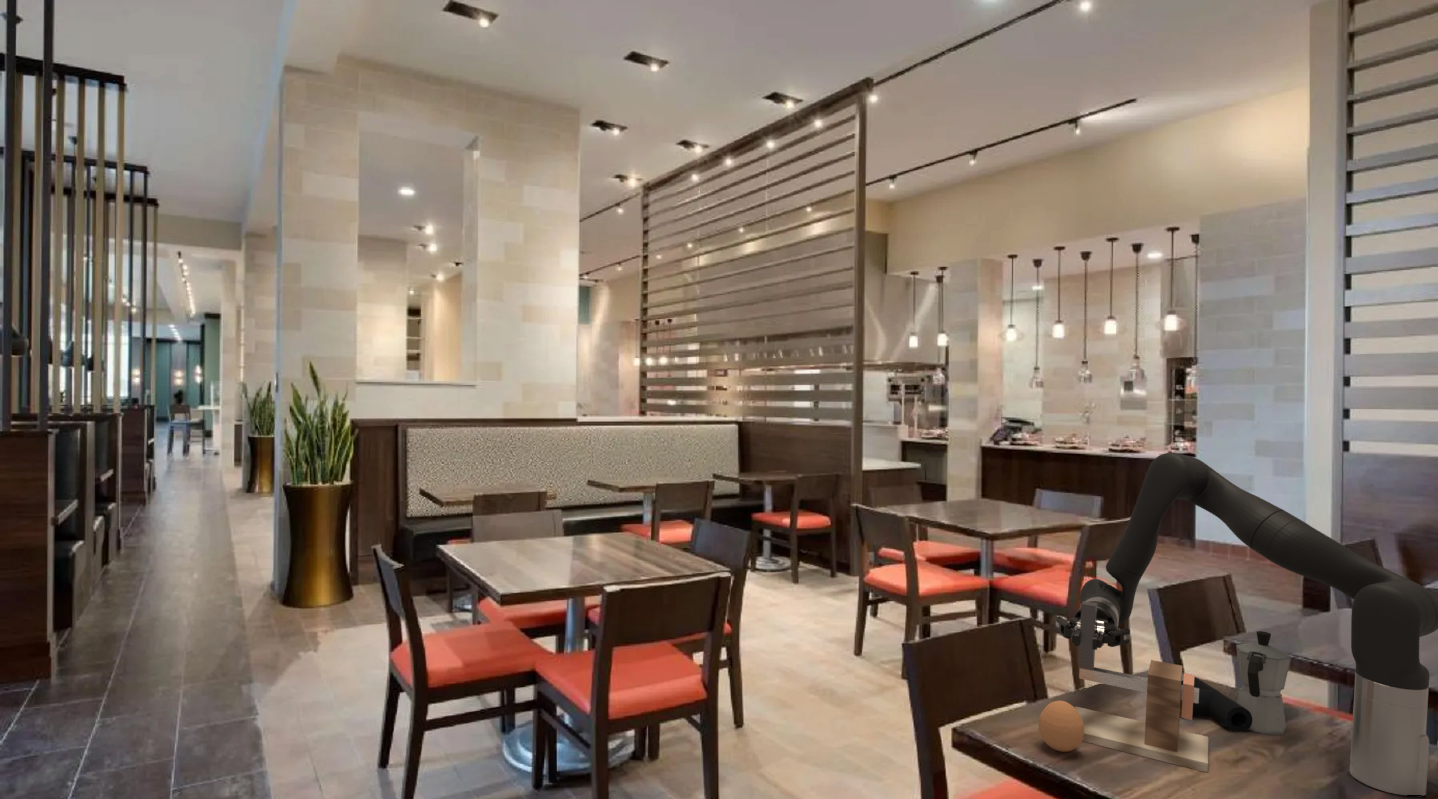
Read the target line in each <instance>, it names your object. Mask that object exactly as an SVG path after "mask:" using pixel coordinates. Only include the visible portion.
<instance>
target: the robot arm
mask: <svg viewBox="0 0 1438 799" xmlns="http://www.w3.org/2000/svg"><path fill="white" fill-rule="evenodd" d="M1175 500H1181V501H1185V502H1188V503H1191V504H1193V505H1194V506H1197V507H1199V508H1201V509H1203V510H1204V511H1206V512H1209V513H1210V514H1212V515H1213V516H1215V517H1217V518H1218V519H1219V520H1220V521H1222V523H1224V524H1225V526H1227V528H1228V529H1229V530H1230V531H1231V532H1232V534H1234V535H1235V536H1236V537H1237V539H1238V540H1240V542H1242V543H1243V544H1244V545H1246V547H1248V548H1250V549H1251V550H1253V551H1254V552H1256V553H1258V555H1261V556H1262V557H1264V559H1266V560H1268V561H1270V562H1271V563H1273V564H1275V565H1277V566H1279V567H1280V568H1283V569H1285V570H1287V571H1289V572H1292V573H1295V574H1297V575H1300V576H1303V577H1305V578H1308V579H1311V580H1314V581H1316V582H1318V583H1322V584H1325V585H1327V586H1329V587H1331V588H1334V589H1335V590H1337V591H1339V592H1342V593H1343V594H1345V595H1346V596H1348V597H1350V598H1351V599H1352V600H1353V601H1352V607H1351V615H1350V618H1351V620H1350V622H1351V623H1350V624H1351V625H1350V626H1351V627H1350V634H1351V635H1350V648H1351V655H1352V657H1353V660H1354V662H1355V672H1354V673H1355V675H1354V690H1353V692H1354V693H1353V706H1352V708H1353V709H1352V710H1353V711H1352V727H1351V740H1350V741H1351V743H1350V758H1349V773H1350V775H1351V776H1352V777H1353V778H1354V779H1356V780H1357V781H1358V782H1360V783H1362V784H1364V785H1365V786H1369V787H1371V788H1374V789H1377V790H1380V791H1383V792H1386V793H1390V794H1395V795H1400V796H1407V795H1426V796H1427V785H1428V784H1427V782H1428V771H1429V770H1428V767H1429V766H1428V765H1429V752H1430V738H1429V736H1428V735H1427V719H1428V702H1429V686H1430V672H1429V669H1428V668H1427V667H1426V666H1425V665H1423V664H1422V663H1421V661H1420V660H1421V659H1420V638H1421V637H1425V636H1427V635H1429V634H1433V633H1434V632H1436V631H1437V630H1438V598H1436V596H1435V595H1434V594H1433V592H1431V591H1429V589H1427V588H1425V587H1424V586H1422V585H1421V584H1419V583H1418V582H1415V581H1413V580H1411V579H1409V578H1406V577H1404V576H1402V575H1400V574H1398V573H1396V572H1394V571H1392V570H1389V569H1388V568H1385V567H1383V566H1381V565H1379V564H1377V563H1375V562H1373V561H1370V560H1368V559H1367V558H1365V557H1363V556H1362V555H1359V554H1357V553H1356V552H1354V551H1353V550H1351V549H1349V548H1348V547H1347V546H1345V545H1343V544H1342V543H1340V542H1338V541H1337V540H1335V539H1333V538H1332V537H1330V536H1328V535H1327V534H1325V533H1323V532H1321V531H1319V530H1318V529H1316V528H1314V527H1313V526H1311V525H1310V524H1308V523H1306V522H1305V521H1303V520H1302V519H1300V518H1299V517H1296V516H1295V515H1293V514H1292V513H1289V512H1288V511H1286V510H1284V509H1283V508H1281V507H1279V506H1276V505H1275V504H1273V503H1271V502H1269V501H1267V500H1265V499H1263V498H1261V497H1259V496H1257V495H1255V494H1253V493H1251V492H1249V491H1247V490H1245V489H1243V488H1240V487H1239V486H1237V485H1236V484H1234V483H1233V482H1231V481H1230V480H1229V479H1228V478H1225V477H1224V476H1223V475H1222V474H1220V473H1219V472H1217V471H1216V470H1215V469H1213V468H1212V467H1210V466H1209V465H1208V464H1207V463H1205V462H1204V461H1202V460H1201V459H1198V458H1197V457H1193V456H1190V455H1186V454H1180V453H1176V452H1166V453H1162V454H1159V455H1158V456H1157V457H1156V458H1154V459H1153V460H1152V462H1151V463H1150V465H1149V466H1148V469H1147V471H1146V473H1145V477H1144V479H1143V482H1142V485H1141V488H1140V492H1139V494H1138V497H1137V499H1136V503H1135V505H1134V508H1133V510H1132V513H1131V516H1130V518H1129V520H1128V523H1127V525H1126V528H1124V529H1125V530H1124V531H1123V533H1122V536H1121V538H1120V539H1119V541H1118V543H1117V544H1116V546H1115V548H1114V550H1113V551H1112V553H1111V555H1110V557H1109V558H1108V560H1107V562H1106V564H1105V570H1106V572H1107V573H1108V574H1109V575H1110V576H1111V577H1112V578H1114V579H1115V580H1116V582H1118V583H1119V585H1120V586H1121V589H1122V590H1121V589H1118V588H1116V587H1115V586H1113V585H1111V584H1109V583H1108V582H1106V581H1104V580H1101V579H1099V578H1092V579H1089V580H1087V581H1086V582H1084V584H1083V585H1082V587H1081V590H1080V593H1079V604H1080V606H1079V607H1078V609H1077V612H1076V613H1075V615H1074V617H1072V618H1070V619H1069V620H1068V619H1066V618H1064V617H1063V616H1056V618H1055V630H1056V632H1058V633H1059V634H1060V635H1061V636H1062V637H1063V638H1065V639H1067V640H1069V639H1070V642H1071V643H1072V644H1074V646H1075V647H1079V645H1080V622H1081V604H1082V602H1083V601H1086V602H1092V603H1097V618H1096V633H1095V635H1094V636H1093V644H1092V649H1094V650H1095V651H1097V650H1098V649H1101V648H1102V647H1103V646H1104V645H1105V644H1106V645H1107V646H1108V647H1110V648H1113V647H1114V648H1115V647H1118V646H1122V645H1126V644H1129V643H1130V638H1131V629H1129V628H1127V627H1125V628H1119V625H1120V624H1123V623H1125V622H1127V621H1128V619H1130V617H1131V615H1132V611H1133V608H1134V602H1135V597H1136V596H1135V595H1136V592H1137V588H1138V586H1139V583H1140V580H1141V579H1142V577H1143V575H1144V573H1145V572H1146V570H1147V568H1148V567H1149V565H1150V563H1151V561H1152V559H1153V557H1154V555H1155V553H1156V550H1157V547H1158V546H1157V545H1158V540H1159V539H1158V538H1159V532H1160V527H1161V523H1162V520H1163V518H1164V517H1165V514H1166V513H1167V511H1168V509H1169V508H1170V507H1171V505H1172V504H1173V503H1174V501H1175Z"/></svg>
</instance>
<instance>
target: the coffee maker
mask: <svg viewBox="0 0 1438 799" xmlns="http://www.w3.org/2000/svg"><path fill="white" fill-rule="evenodd" d="M1271 636H1272V634H1271V633H1270V632H1267V631H1264V630H1262V631H1261V630H1257V631H1256V637H1257V642H1255V643H1254V642H1247V643H1246V642H1245V643H1238V644H1235V648H1236V657H1237V668H1238V677H1239V679H1240V681H1241V686H1240V688H1239V692H1238V696H1237V700H1236V703H1238V704H1239V705H1241V706H1242V707H1244V708H1245V709H1247V710H1248V711H1249V712H1250V713H1251V715H1252V725H1251V727H1250V728H1249V729H1248V730H1247V731H1251V732H1255V733H1259V734H1261V735H1271V736H1274V735H1275V736H1284V734H1285V733H1286V731H1287V725H1286V724H1287V723H1286V717H1285V710H1284V709H1285V708H1284V701H1283V695H1282V694H1281V691H1283V690H1284V689H1285V687H1286V683H1287V676H1288V673H1289V668H1290V664H1291V659H1292V657H1291V656H1290V655H1289V654H1288V652H1286V651H1285V650H1282V649H1280V648H1277V647H1274V646H1272V645H1269V643H1270V640H1271Z"/></svg>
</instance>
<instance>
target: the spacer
mask: <svg viewBox="0 0 1438 799" xmlns="http://www.w3.org/2000/svg"><path fill="white" fill-rule="evenodd" d="M1194 677H1195V675H1194V674H1191V673H1188V672H1187V673H1185V672H1184V673H1183V679H1184V680H1183V696H1182V715H1181V716H1180V718H1182V719H1185V720H1190V721H1193V716H1192V713H1193V694H1194Z"/></svg>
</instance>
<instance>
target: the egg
mask: <svg viewBox="0 0 1438 799" xmlns="http://www.w3.org/2000/svg"><path fill="white" fill-rule="evenodd" d="M1038 731H1039V734H1040V736H1041V738H1042V740H1043V741H1044V742H1045V743H1046V745H1047V746H1049V747H1050V748H1051V749H1053V750H1055V751H1058V752H1064V753H1065V752H1066V753H1067V752H1071V751H1073V750H1075V749H1076V748H1078V747H1079V746H1080V745H1081V744H1082V742H1083V741H1082V740H1083V737H1084V725H1083V721H1082V719H1081V717H1080V715H1079V713H1078V711H1077V710H1076V709H1075V707H1074V706H1073V705H1072V704H1070V703H1069V702H1067V701H1065V700H1054V701H1052V702H1049V703H1048V704H1047V705H1046V706H1045V707H1044V708H1043V709H1042V711H1041V713H1040V715H1039V718H1038Z"/></svg>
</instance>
